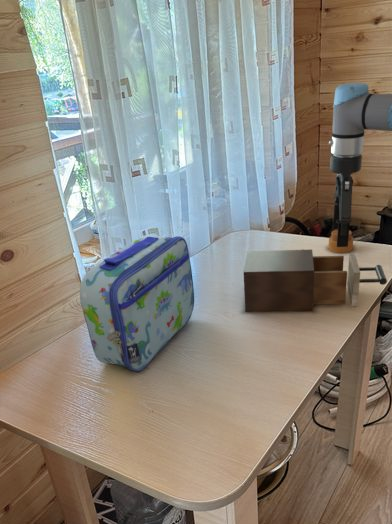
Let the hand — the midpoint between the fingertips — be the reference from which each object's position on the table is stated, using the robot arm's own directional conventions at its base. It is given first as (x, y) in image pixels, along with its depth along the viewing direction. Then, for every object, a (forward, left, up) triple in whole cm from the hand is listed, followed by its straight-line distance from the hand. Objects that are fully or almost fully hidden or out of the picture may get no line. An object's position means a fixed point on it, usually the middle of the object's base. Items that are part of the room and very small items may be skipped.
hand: (339, 236), depth 138 cm
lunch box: (+42, +49, -3) cm, 65 cm away
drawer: (+3, +30, -2) cm, 30 cm away
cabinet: (+16, +30, -3) cm, 34 cm away
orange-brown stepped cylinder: (0, 0, -3) cm, 3 cm away
